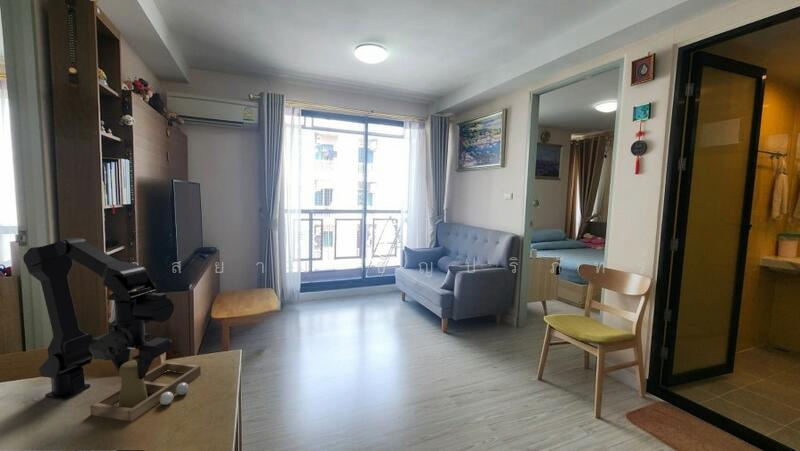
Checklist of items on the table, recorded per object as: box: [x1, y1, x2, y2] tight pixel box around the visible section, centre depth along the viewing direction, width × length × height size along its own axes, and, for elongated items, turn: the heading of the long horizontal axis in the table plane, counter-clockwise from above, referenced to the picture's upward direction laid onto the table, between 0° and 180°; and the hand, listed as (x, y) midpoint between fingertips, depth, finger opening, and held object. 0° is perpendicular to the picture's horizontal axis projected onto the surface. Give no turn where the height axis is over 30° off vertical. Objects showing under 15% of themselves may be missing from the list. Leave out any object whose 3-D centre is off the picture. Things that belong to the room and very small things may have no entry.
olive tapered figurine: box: [118, 359, 149, 408], centre depth 87 cm, size 6×6×11 cm
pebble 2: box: [175, 383, 189, 396], centre depth 92 cm, size 3×3×3 cm
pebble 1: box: [159, 392, 175, 406], centre depth 87 cm, size 3×3×3 cm
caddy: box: [90, 361, 202, 422], centre depth 92 cm, size 12×22×2 cm, turn 171°
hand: (132, 377), depth 87 cm, fingers closed on olive tapered figurine, 5 cm apart
